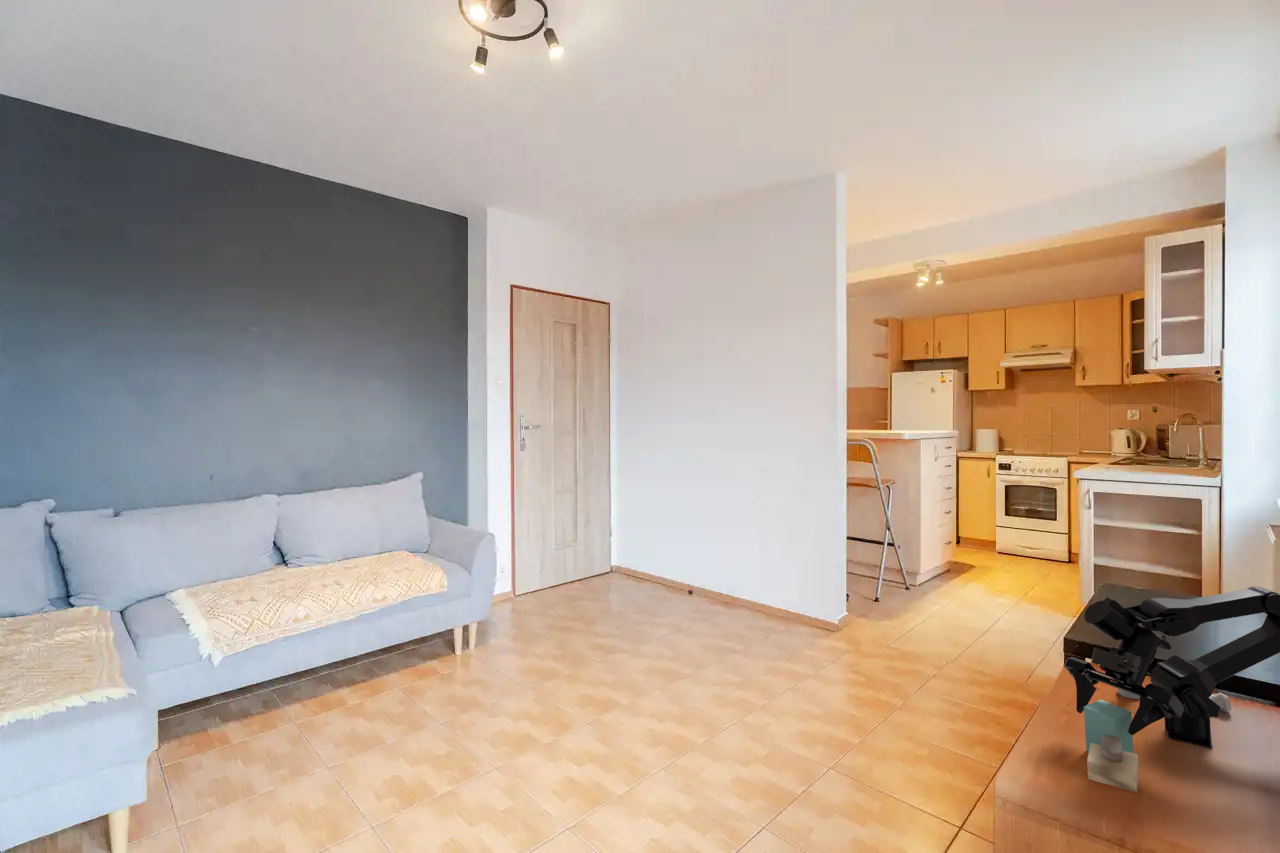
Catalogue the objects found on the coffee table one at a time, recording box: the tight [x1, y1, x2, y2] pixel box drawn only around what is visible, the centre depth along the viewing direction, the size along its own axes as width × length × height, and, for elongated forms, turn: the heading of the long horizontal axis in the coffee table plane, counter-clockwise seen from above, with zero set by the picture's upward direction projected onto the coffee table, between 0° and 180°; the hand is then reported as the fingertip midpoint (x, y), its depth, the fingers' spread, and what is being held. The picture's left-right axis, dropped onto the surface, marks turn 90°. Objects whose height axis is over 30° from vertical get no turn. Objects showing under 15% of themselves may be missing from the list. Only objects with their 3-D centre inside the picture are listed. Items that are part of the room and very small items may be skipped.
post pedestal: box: [1086, 735, 1139, 794], centre depth 111 cm, size 7×7×7 cm
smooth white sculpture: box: [1209, 692, 1232, 713], centre depth 130 cm, size 4×8×5 cm
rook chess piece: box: [1116, 688, 1140, 700], centre depth 138 cm, size 4×4×8 cm
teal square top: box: [1083, 699, 1135, 754], centre depth 118 cm, size 5×5×9 cm
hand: (1103, 722), depth 117 cm, fingers open, 9 cm apart
